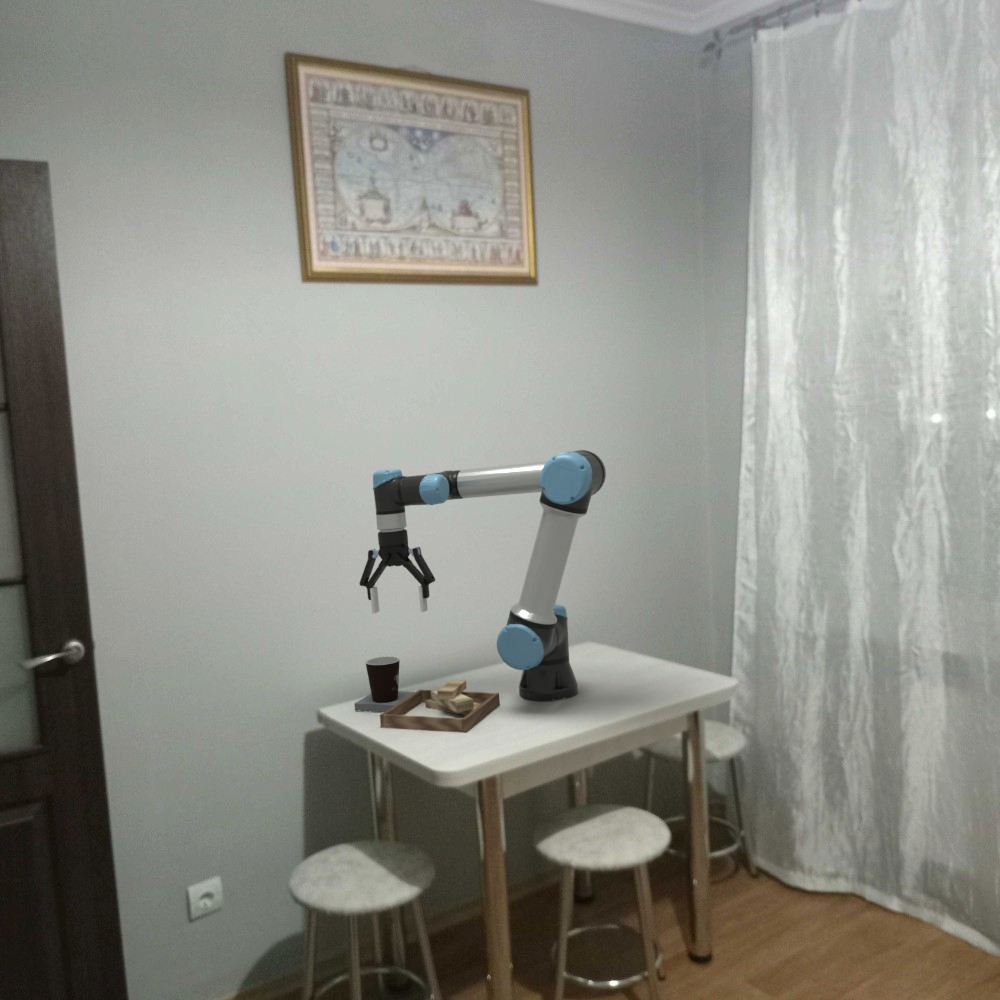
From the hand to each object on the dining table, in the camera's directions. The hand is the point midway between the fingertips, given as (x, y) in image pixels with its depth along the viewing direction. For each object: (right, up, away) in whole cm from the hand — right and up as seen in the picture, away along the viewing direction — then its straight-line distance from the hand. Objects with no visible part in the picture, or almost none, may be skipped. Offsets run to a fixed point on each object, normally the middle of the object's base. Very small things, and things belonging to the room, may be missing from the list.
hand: (399, 611), depth 253 cm
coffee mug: (-3, -22, -2) cm, 22 cm away
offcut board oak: (+15, -24, -8) cm, 29 cm away
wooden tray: (+12, -24, -13) cm, 30 cm away
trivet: (-3, -24, -1) cm, 24 cm away
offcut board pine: (+14, -22, -10) cm, 28 cm away
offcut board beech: (+14, -19, -9) cm, 25 cm away
